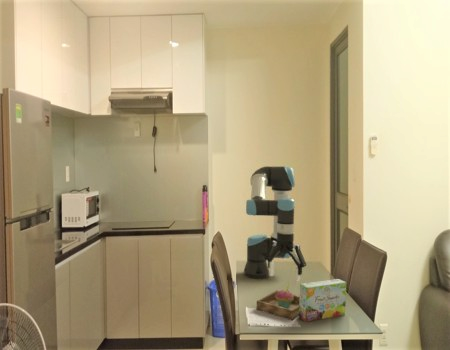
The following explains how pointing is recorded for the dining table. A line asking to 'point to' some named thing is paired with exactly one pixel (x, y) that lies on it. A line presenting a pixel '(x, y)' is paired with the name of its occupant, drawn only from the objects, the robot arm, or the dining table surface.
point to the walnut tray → (272, 306)
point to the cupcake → (284, 298)
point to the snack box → (322, 299)
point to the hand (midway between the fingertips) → (284, 278)
